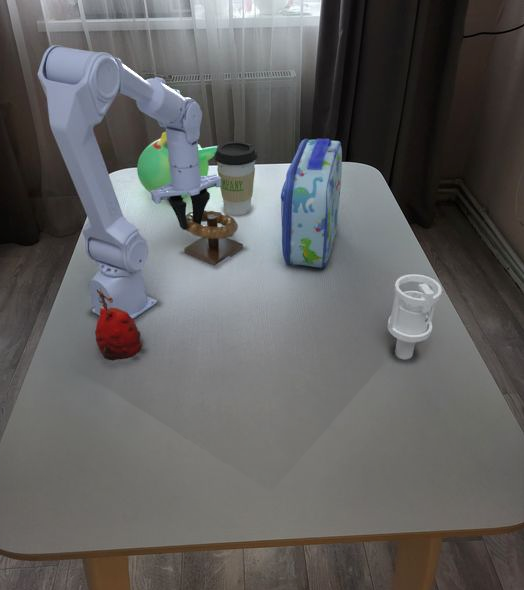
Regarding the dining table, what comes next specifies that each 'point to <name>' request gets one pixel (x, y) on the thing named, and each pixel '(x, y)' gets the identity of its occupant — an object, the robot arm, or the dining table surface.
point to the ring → (212, 232)
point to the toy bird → (165, 164)
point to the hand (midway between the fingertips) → (190, 225)
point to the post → (213, 246)
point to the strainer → (412, 313)
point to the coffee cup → (236, 175)
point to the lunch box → (311, 203)
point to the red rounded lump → (116, 332)
